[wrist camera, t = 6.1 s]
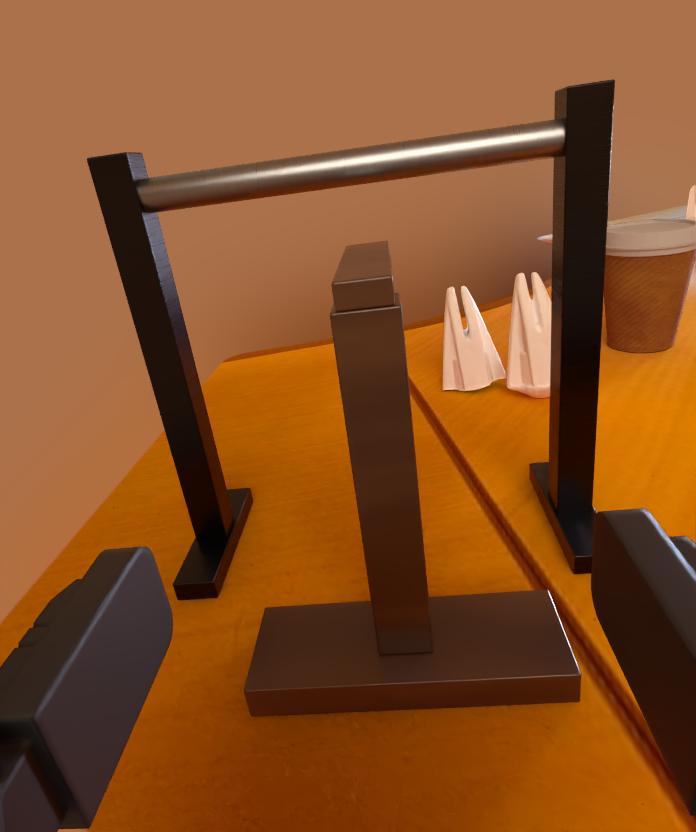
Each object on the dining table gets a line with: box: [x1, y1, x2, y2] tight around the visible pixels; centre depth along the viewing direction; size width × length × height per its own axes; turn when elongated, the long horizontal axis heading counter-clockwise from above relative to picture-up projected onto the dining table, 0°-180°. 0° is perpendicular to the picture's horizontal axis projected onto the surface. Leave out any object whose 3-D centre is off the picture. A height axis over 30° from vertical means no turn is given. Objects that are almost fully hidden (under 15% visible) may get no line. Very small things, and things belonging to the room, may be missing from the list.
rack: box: [87, 80, 615, 600], centre depth 31 cm, size 24×10×23 cm, turn 87°
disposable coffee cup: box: [604, 219, 696, 353], centre depth 58 cm, size 10×10×12 cm
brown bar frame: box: [244, 241, 581, 716], centre depth 25 cm, size 10×14×18 cm
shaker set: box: [442, 272, 551, 398], centre depth 51 cm, size 12×4×11 cm, turn 54°
